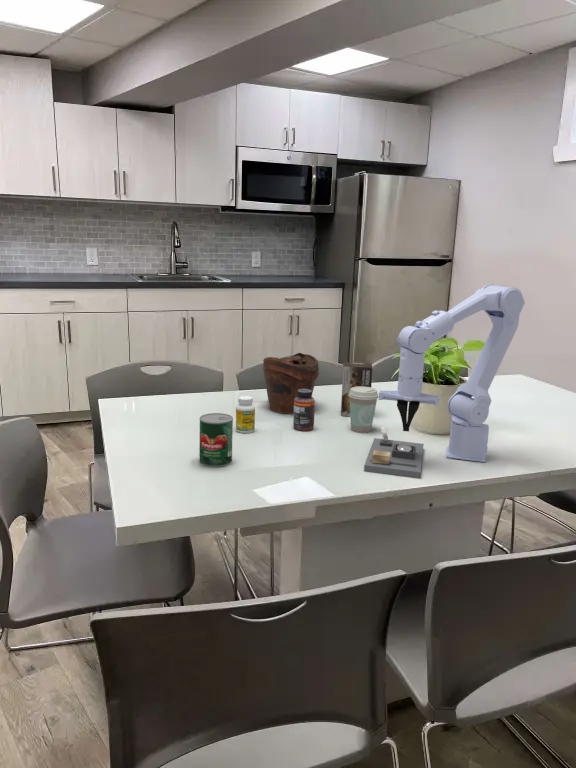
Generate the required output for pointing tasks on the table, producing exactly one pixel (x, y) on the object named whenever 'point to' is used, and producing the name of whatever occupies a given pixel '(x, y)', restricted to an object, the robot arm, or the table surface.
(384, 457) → the block
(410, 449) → the steel push button
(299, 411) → the supplement bottle
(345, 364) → the coffee box
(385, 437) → the off-white toggle lever
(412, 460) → the control panel
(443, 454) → the table surface
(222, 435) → the canned tomato
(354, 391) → the coffee cup
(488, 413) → the robot arm
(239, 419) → the supplement bottle
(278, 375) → the brown leather bucket
